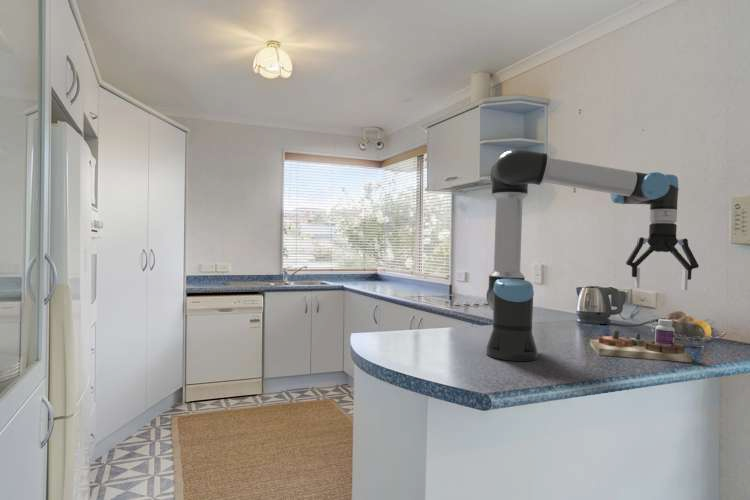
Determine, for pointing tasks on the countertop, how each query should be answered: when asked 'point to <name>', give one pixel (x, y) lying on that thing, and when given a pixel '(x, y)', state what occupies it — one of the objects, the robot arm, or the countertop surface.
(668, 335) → the pill bottle
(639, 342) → the gear board
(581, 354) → the countertop surface
